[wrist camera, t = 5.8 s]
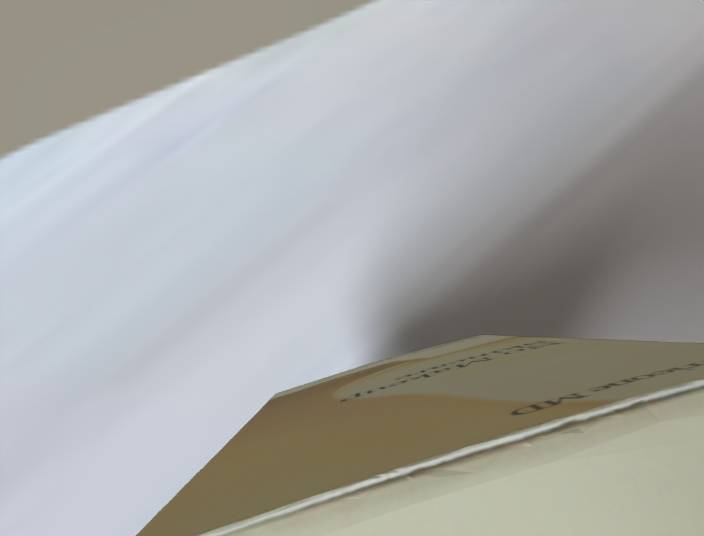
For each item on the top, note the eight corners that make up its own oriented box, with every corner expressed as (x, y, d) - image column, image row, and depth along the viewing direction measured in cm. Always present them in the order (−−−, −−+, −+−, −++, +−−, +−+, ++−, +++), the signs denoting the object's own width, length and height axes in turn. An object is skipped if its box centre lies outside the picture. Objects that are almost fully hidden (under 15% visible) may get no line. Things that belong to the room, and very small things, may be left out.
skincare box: (485, 329, 17) (921, 309, 4) (533, 486, 16) (1157, 939, 4) (258, 394, 16) (52, 572, 4) (300, 558, 16) (216, 1309, 4)
